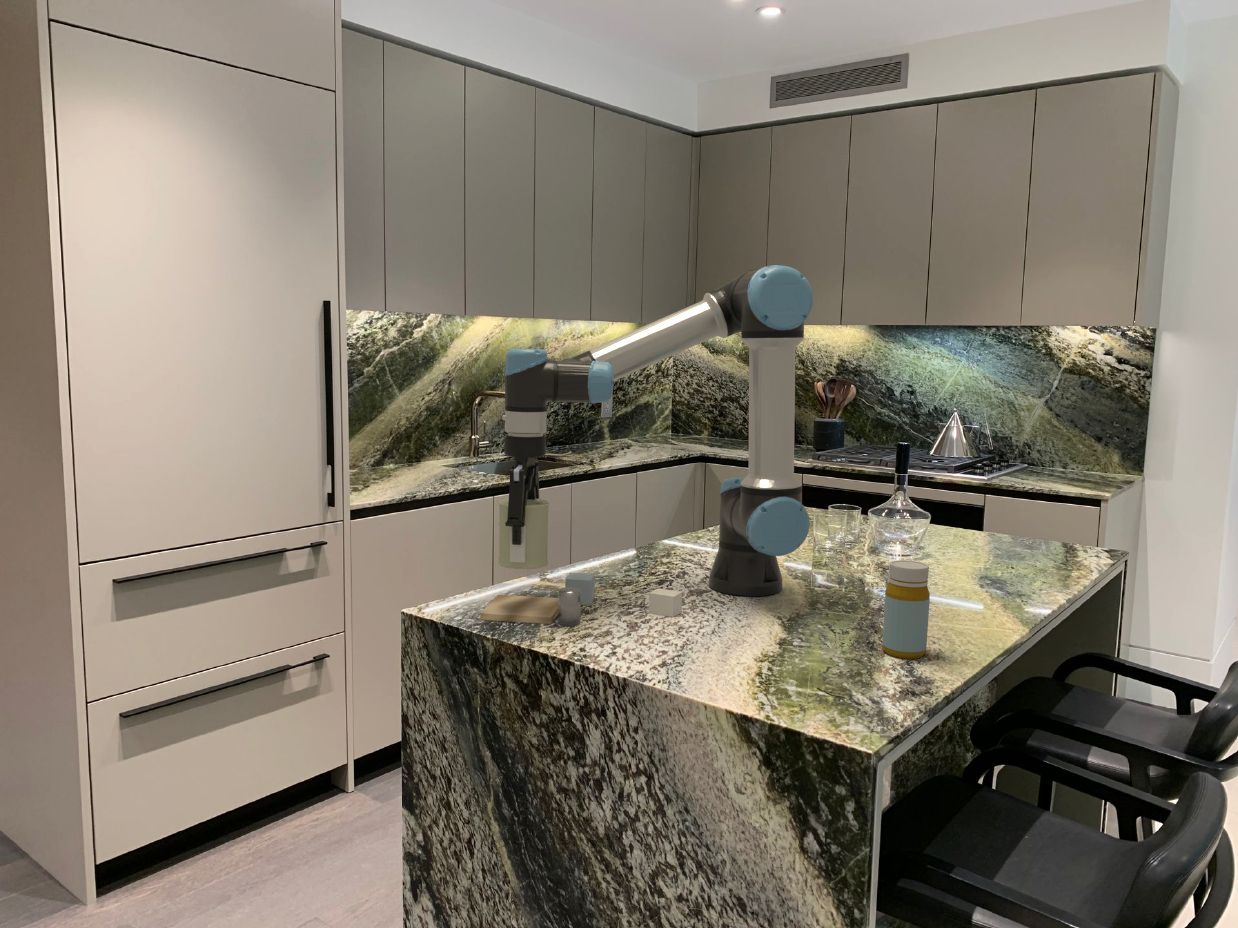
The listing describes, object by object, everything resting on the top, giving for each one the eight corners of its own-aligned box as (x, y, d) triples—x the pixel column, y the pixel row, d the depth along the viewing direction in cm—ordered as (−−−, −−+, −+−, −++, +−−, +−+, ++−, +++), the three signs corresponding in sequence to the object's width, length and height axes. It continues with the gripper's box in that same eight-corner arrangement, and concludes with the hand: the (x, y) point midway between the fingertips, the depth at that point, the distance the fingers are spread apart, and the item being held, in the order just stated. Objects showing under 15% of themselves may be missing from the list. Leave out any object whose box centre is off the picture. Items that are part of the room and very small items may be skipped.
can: (540, 571, 172) (541, 504, 171) (491, 567, 174) (491, 501, 173) (553, 559, 181) (555, 497, 180) (507, 556, 183) (507, 494, 182)
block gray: (594, 598, 189) (594, 574, 189) (590, 605, 184) (591, 580, 184) (569, 597, 190) (569, 572, 189) (564, 604, 185) (565, 579, 184)
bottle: (875, 646, 163) (881, 559, 161) (916, 646, 164) (921, 559, 162) (890, 659, 156) (896, 569, 154) (932, 659, 157) (938, 569, 155)
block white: (681, 612, 181) (682, 591, 181) (673, 617, 178) (673, 596, 177) (657, 608, 184) (658, 588, 183) (648, 613, 180) (649, 592, 180)
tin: (582, 620, 175) (582, 587, 174) (578, 626, 171) (578, 593, 170) (560, 618, 175) (560, 586, 174) (556, 625, 171) (556, 592, 170)
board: (564, 604, 185) (564, 598, 184) (551, 623, 172) (551, 617, 172) (498, 600, 186) (498, 594, 186) (480, 619, 173) (480, 613, 173)
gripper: (518, 428, 186) (517, 542, 189) (489, 439, 164) (488, 568, 167) (556, 429, 185) (554, 544, 188) (532, 441, 164) (530, 570, 166)
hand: (523, 555), depth 178 cm, fingers closed on can, 9 cm apart
